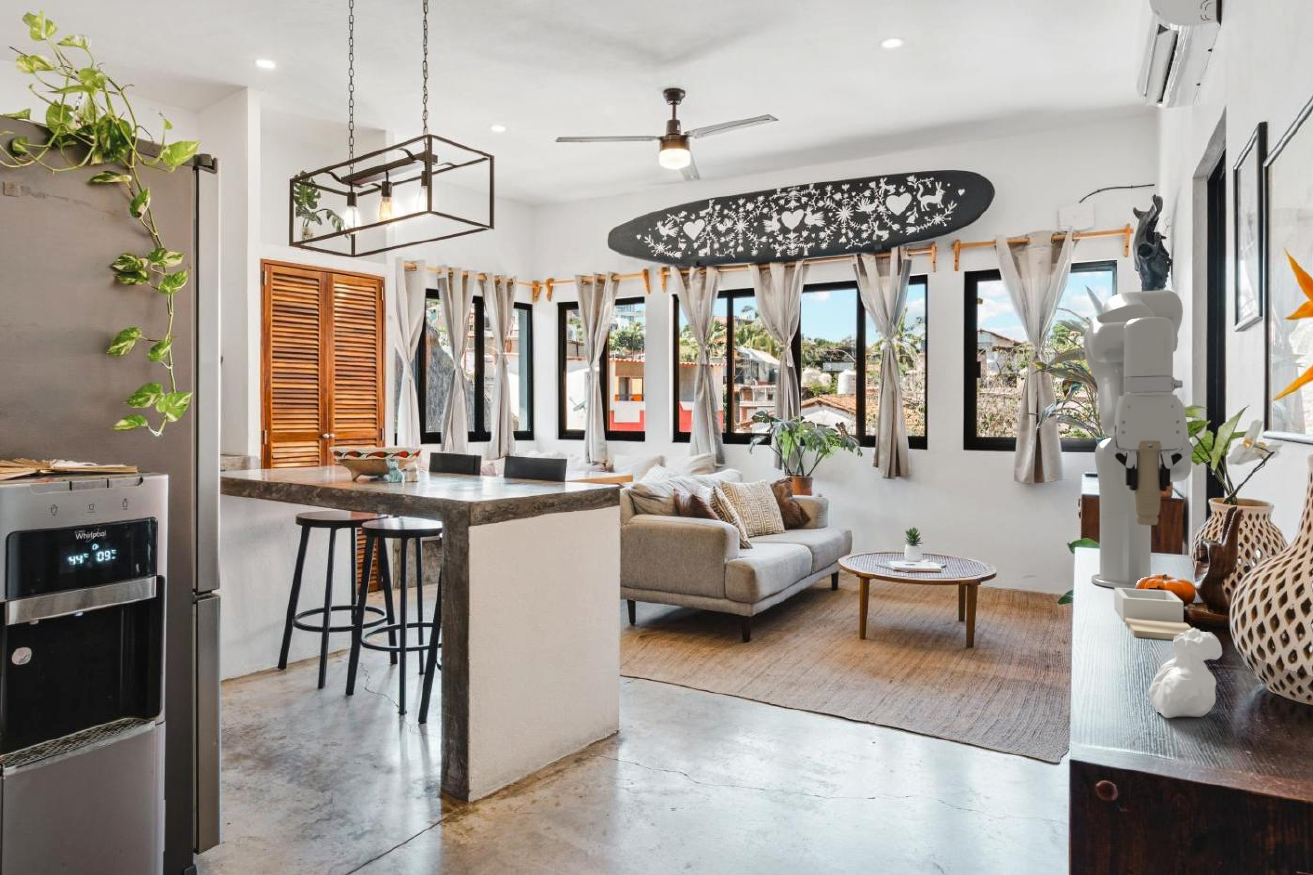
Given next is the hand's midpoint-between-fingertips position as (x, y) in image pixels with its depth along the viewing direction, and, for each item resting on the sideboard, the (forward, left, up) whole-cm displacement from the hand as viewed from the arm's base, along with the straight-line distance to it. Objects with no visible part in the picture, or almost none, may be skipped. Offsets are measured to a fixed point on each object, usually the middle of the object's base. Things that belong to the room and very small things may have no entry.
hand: (1147, 489), depth 145 cm
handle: (0, 0, -6) cm, 6 cm away
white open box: (0, 0, -23) cm, 23 cm away
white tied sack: (+53, -5, -23) cm, 58 cm away
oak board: (+12, 0, -23) cm, 26 cm away
